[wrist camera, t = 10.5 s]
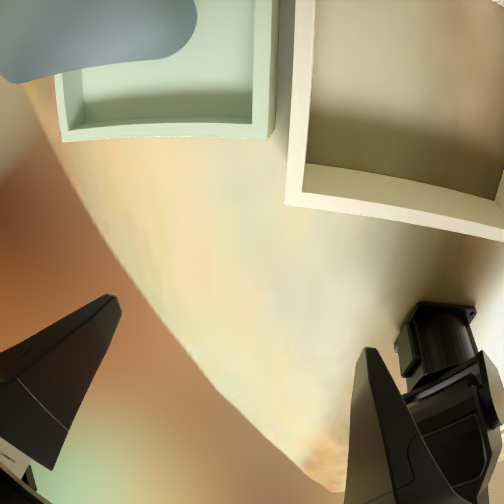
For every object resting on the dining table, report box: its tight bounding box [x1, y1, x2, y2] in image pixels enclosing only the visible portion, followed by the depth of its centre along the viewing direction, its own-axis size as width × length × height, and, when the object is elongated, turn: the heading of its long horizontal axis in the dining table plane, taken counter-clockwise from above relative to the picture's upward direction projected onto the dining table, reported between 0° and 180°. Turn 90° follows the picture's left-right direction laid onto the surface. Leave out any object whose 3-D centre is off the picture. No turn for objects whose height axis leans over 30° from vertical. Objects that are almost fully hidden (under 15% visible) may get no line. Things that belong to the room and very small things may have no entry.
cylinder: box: [0, 0, 197, 84], centre depth 9 cm, size 5×5×10 cm
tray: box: [54, 0, 280, 143], centre depth 13 cm, size 14×14×3 cm
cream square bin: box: [284, 0, 504, 242], centre depth 11 cm, size 16×16×4 cm
